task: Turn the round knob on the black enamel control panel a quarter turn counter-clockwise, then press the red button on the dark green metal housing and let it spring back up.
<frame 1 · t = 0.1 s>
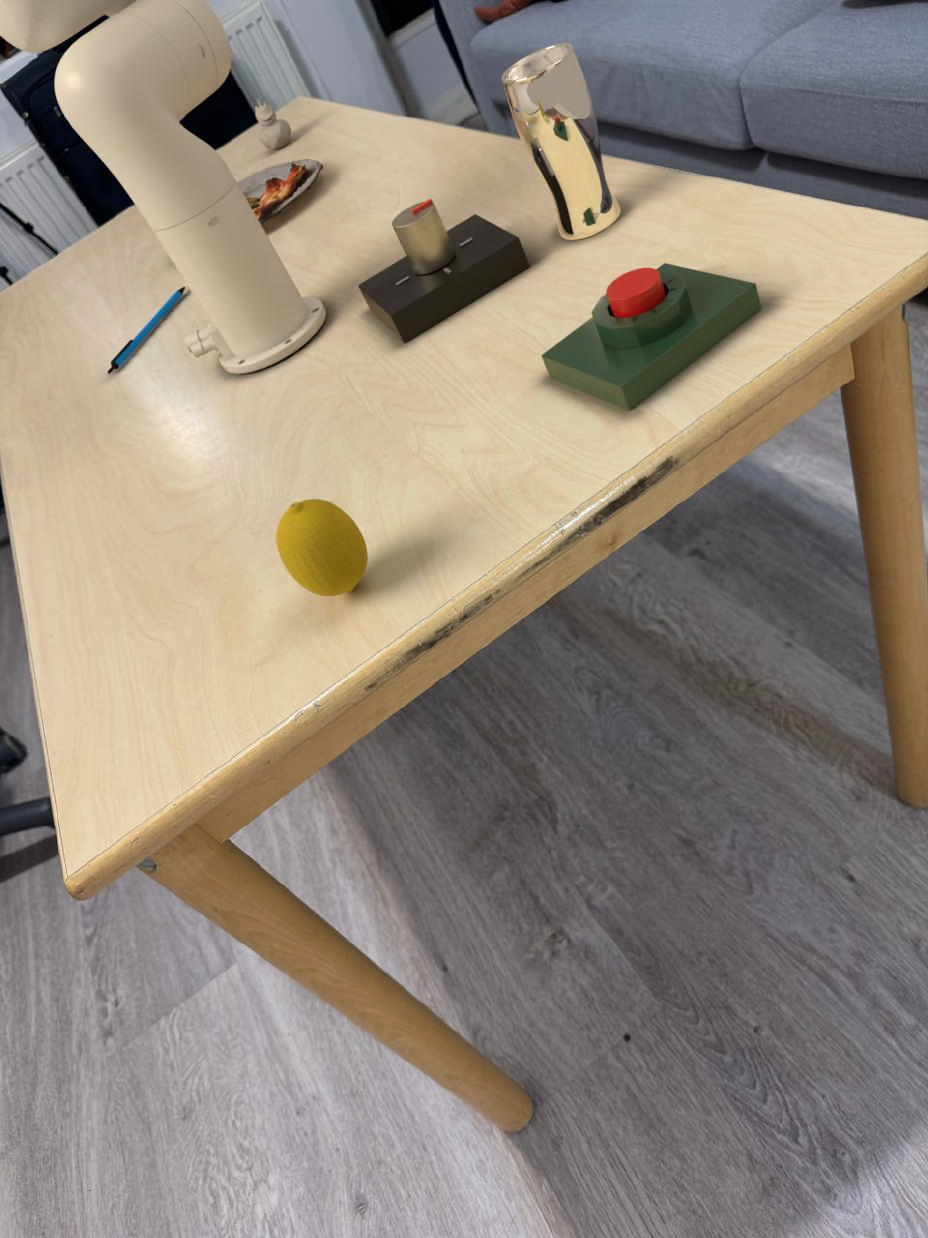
lemon: (352, 592, 68), on the table
knob: (423, 236, 93), point 6 cm above the table, hinge at 0.0°
button: (635, 293, 72), point 4 cm above the table, slide at 0.1 cm
panel: (447, 289, 97), on the table
pen: (151, 331, 124), on the table
beer glass: (591, 224, 94), on the table
switchbox: (652, 345, 74), on the table
food plate: (251, 218, 142), on the table
rubber duck: (281, 146, 163), on the table
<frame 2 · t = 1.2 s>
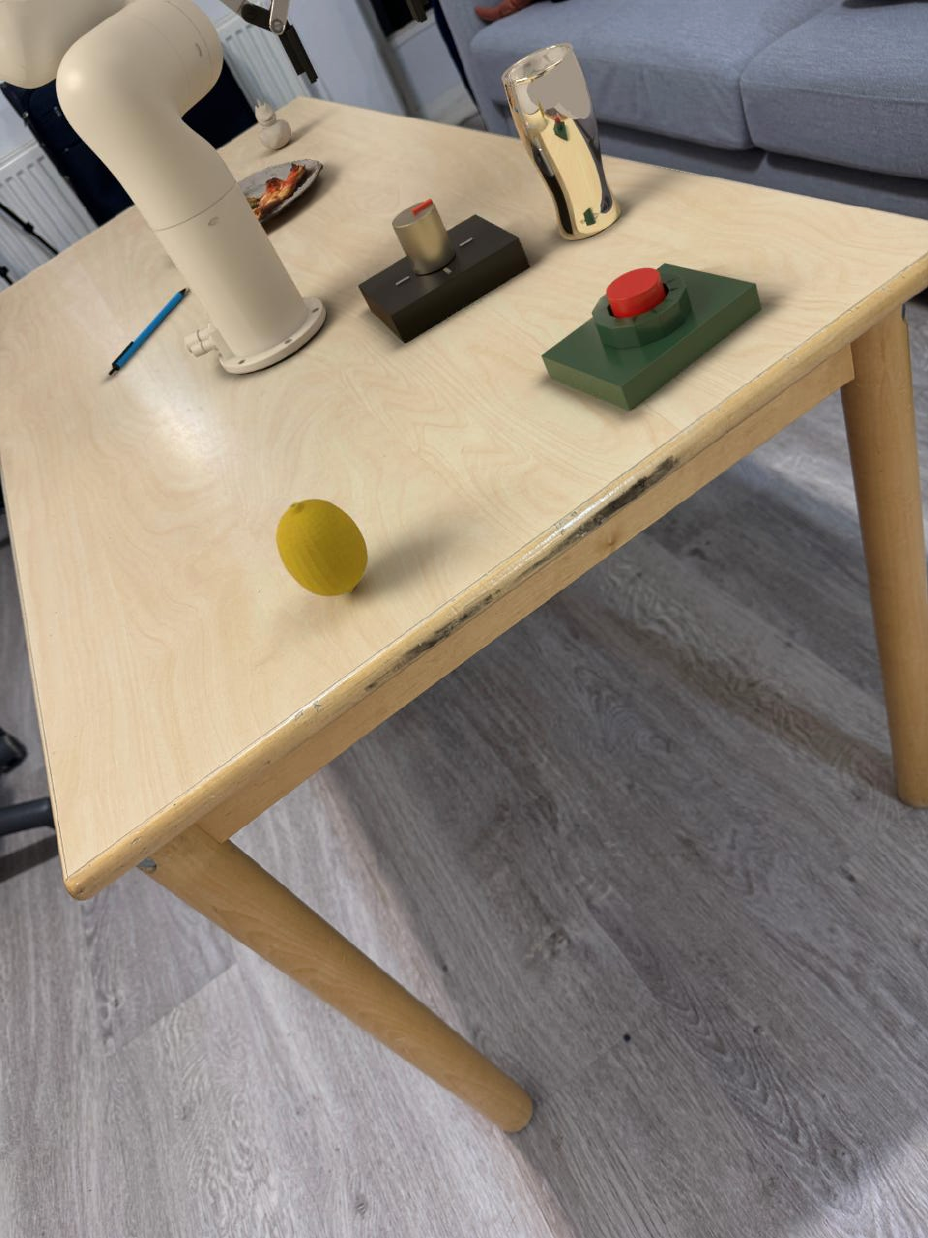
hand: (366, 49, 78), 23 cm above the table, tool pointing down, fingers open, 9 cm apart
nothing on the table moved.
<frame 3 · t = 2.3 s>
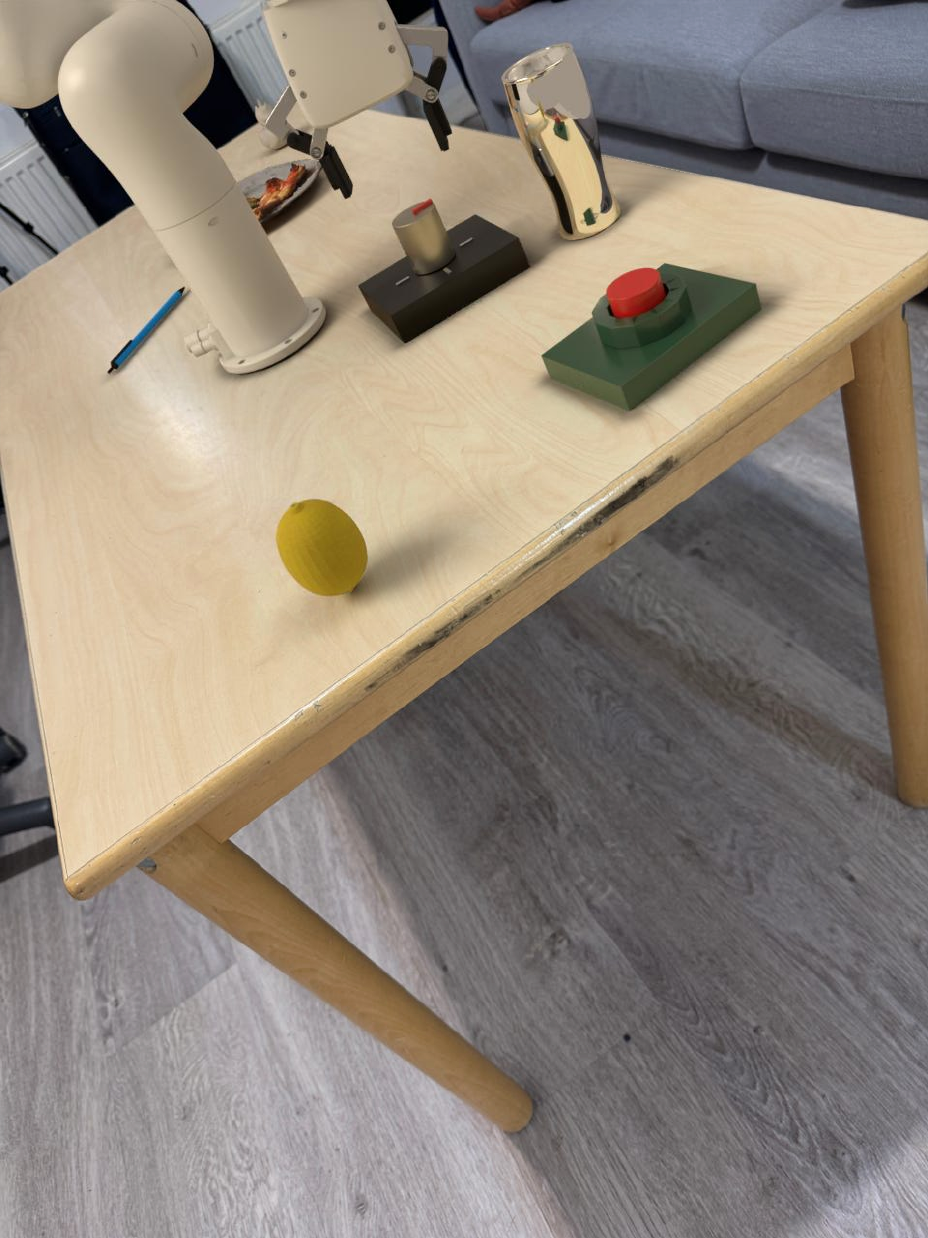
hand: (396, 169, 89), 12 cm above the table, tool pointing down, fingers open, 9 cm apart
nothing on the table moved.
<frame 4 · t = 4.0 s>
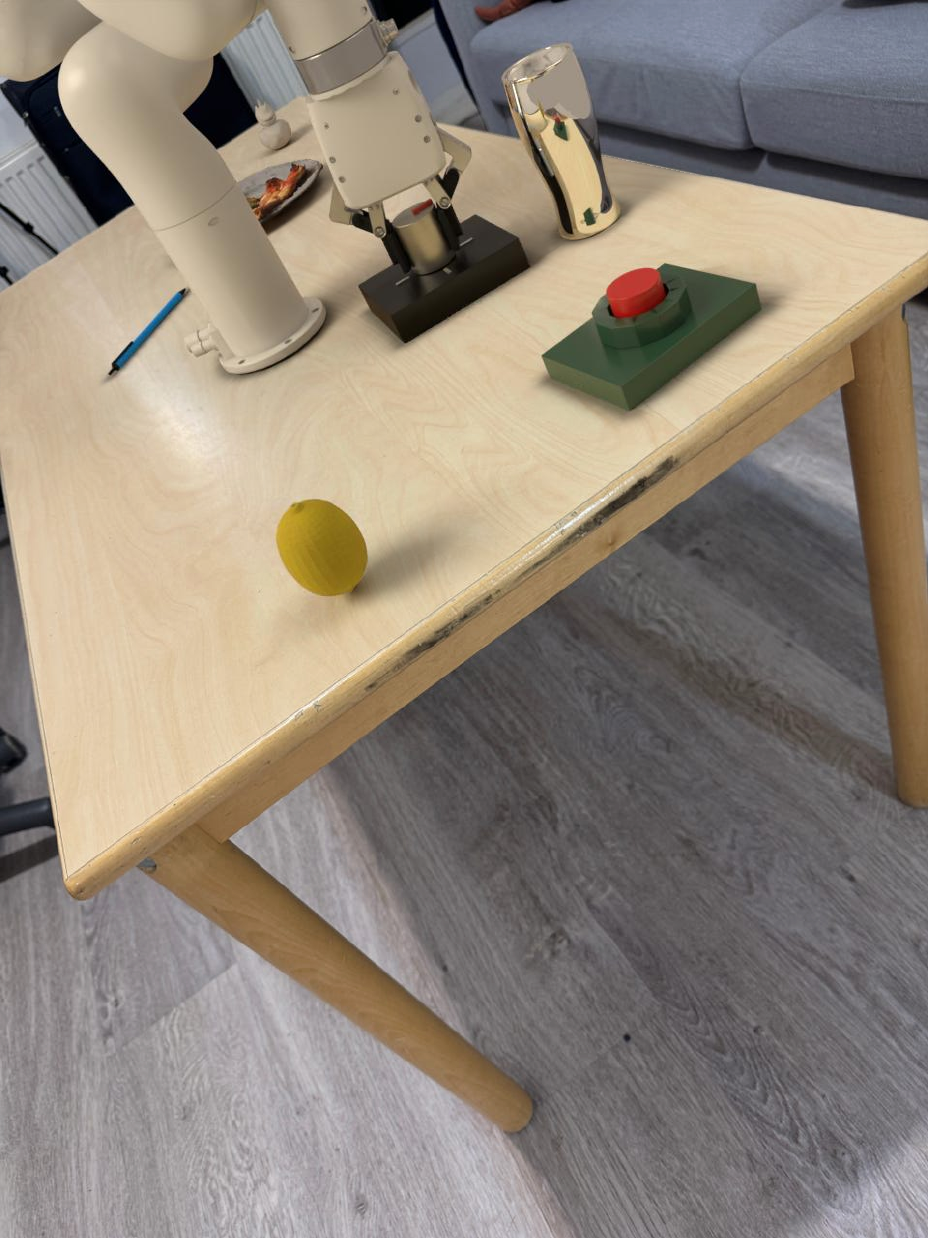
hand: (431, 254, 94), 4 cm above the table, tool pointing down, fingers closed on knob, 4 cm apart
knob: (423, 236, 93), point 6 cm above the table, hinge at 0.1°, touching gripper
everything else where it was.
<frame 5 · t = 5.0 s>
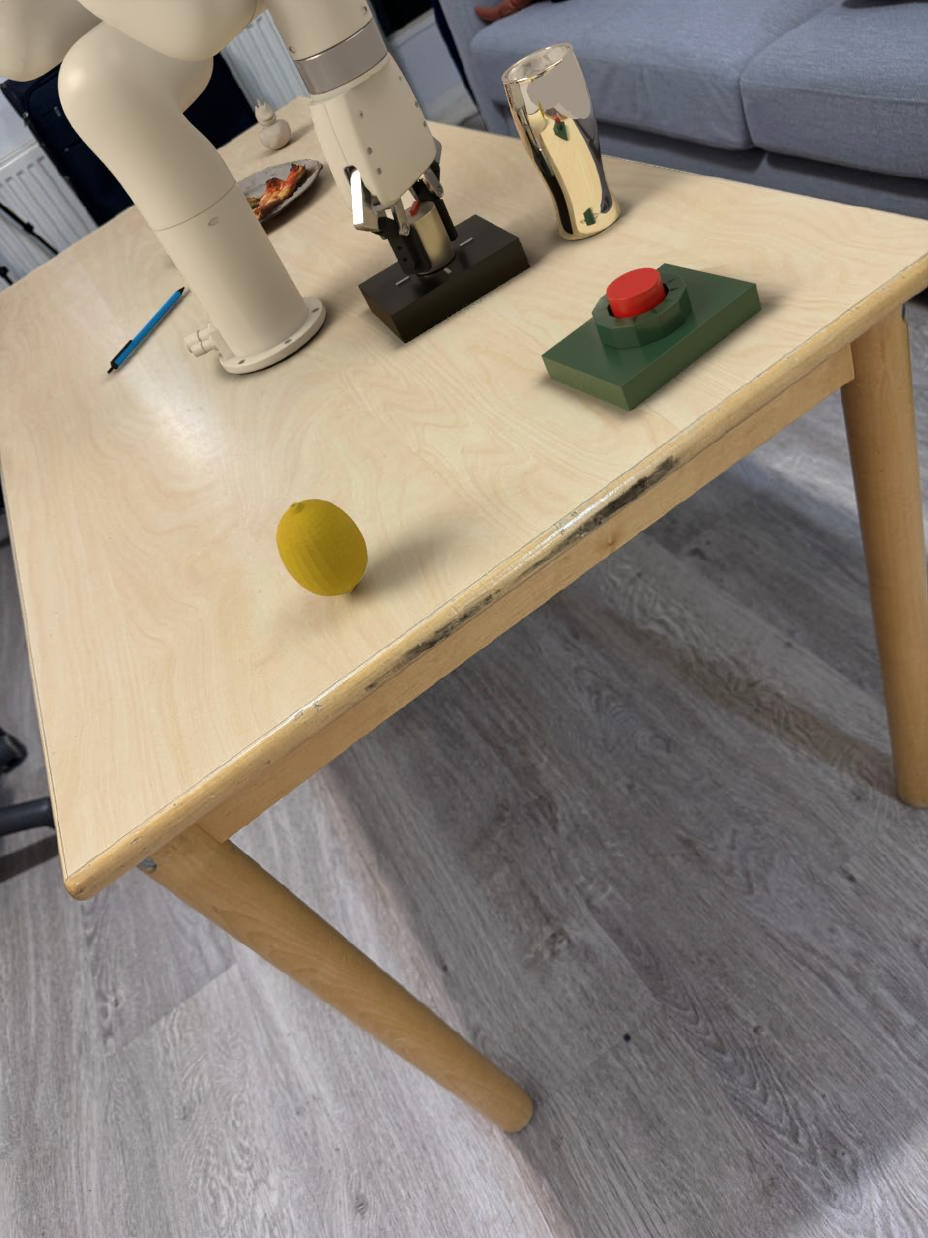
hand: (431, 254, 94), 4 cm above the table, tool pointing down, fingers closed on knob, 4 cm apart
knob: (423, 236, 93), point 6 cm above the table, hinge at 56.3°, touching gripper
everything else where it was.
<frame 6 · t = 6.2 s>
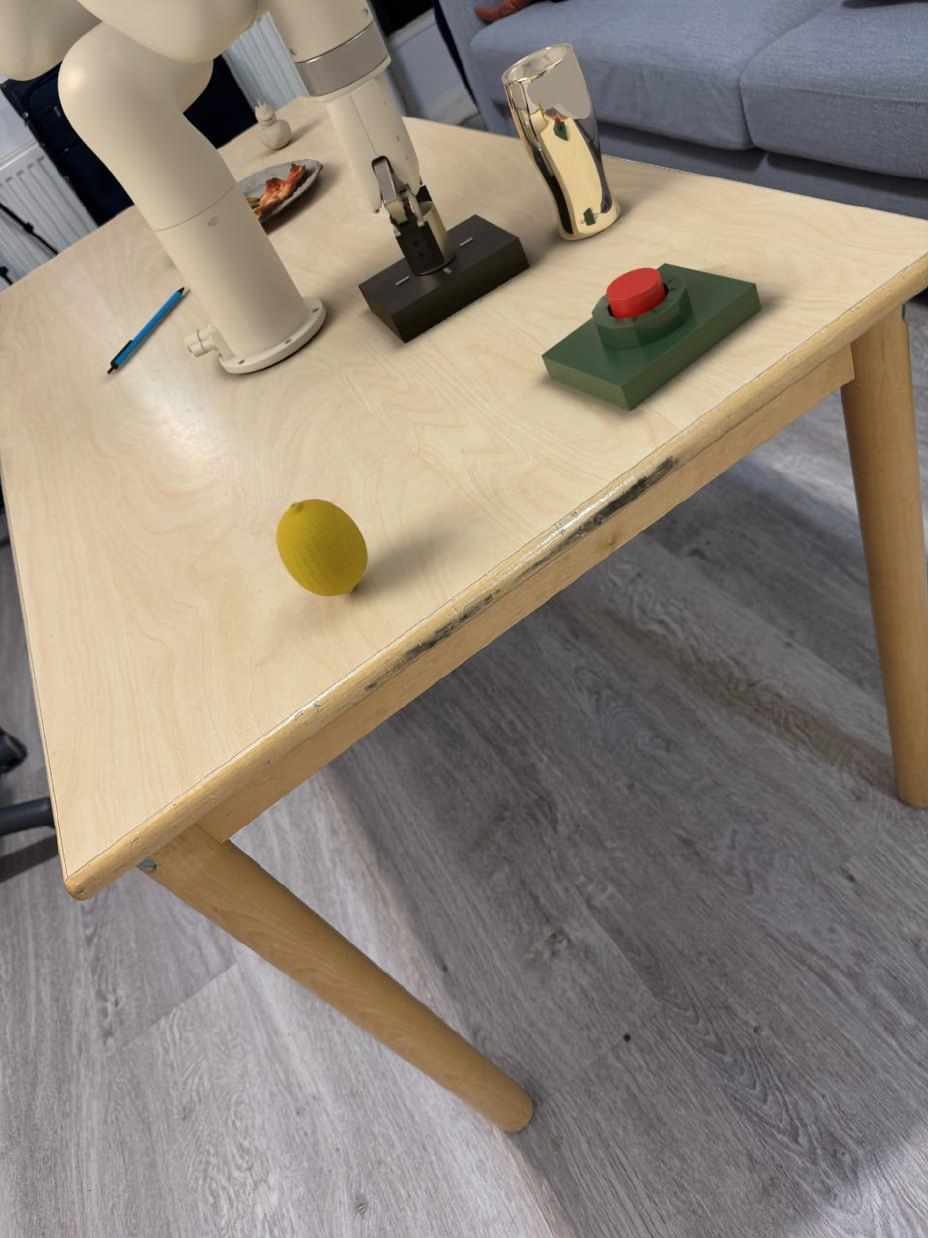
hand: (428, 248, 94), 4 cm above the table, tool pointing down, fingers open, 8 cm apart
knob: (423, 236, 93), point 6 cm above the table, hinge at 88.2°
everything else where it was.
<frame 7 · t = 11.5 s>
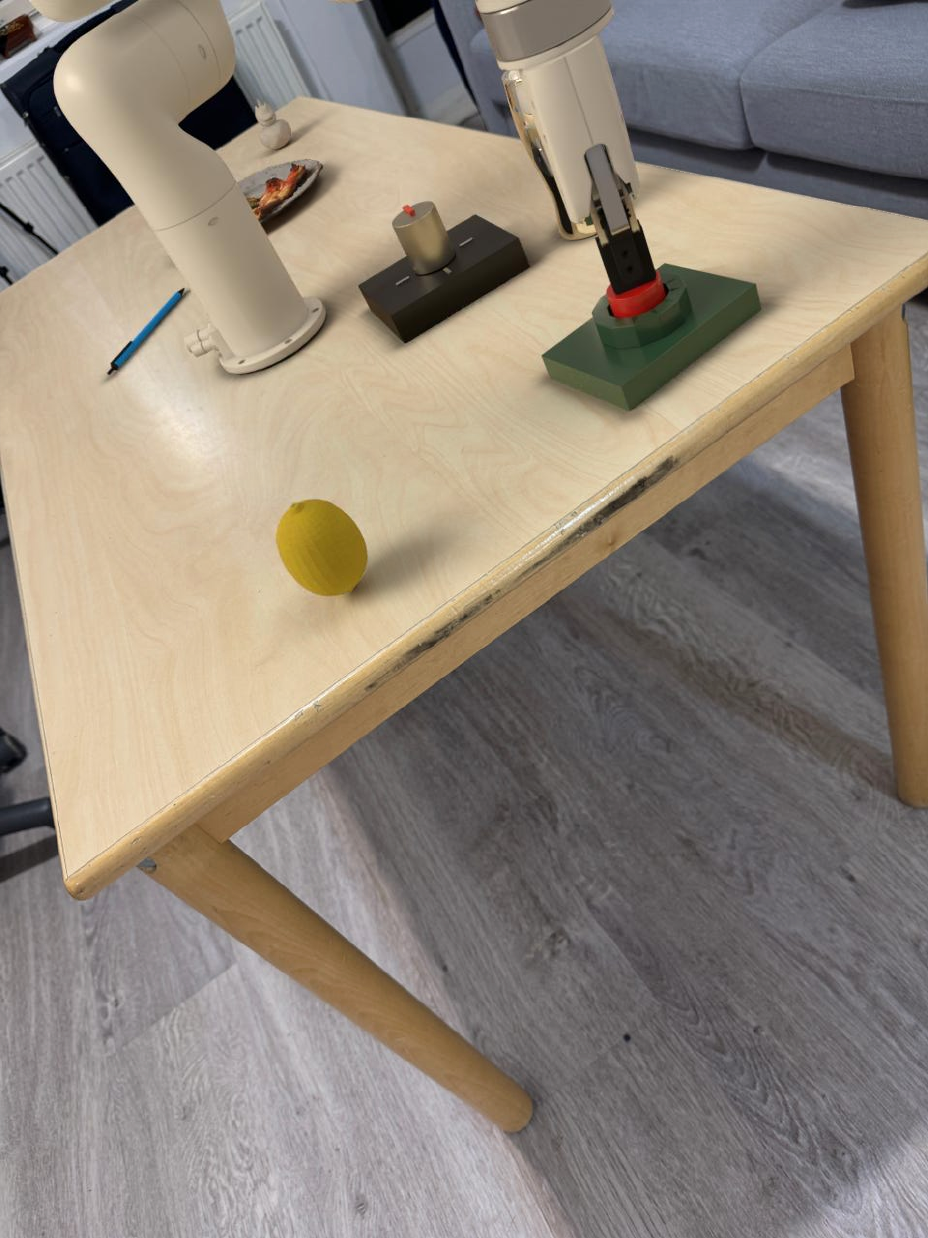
hand: (634, 282, 71), 5 cm above the table, tool pointing down, fingers closed
button: (635, 293, 72), point 4 cm above the table, slide at 0.1 cm, touching gripper
everything else where it was.
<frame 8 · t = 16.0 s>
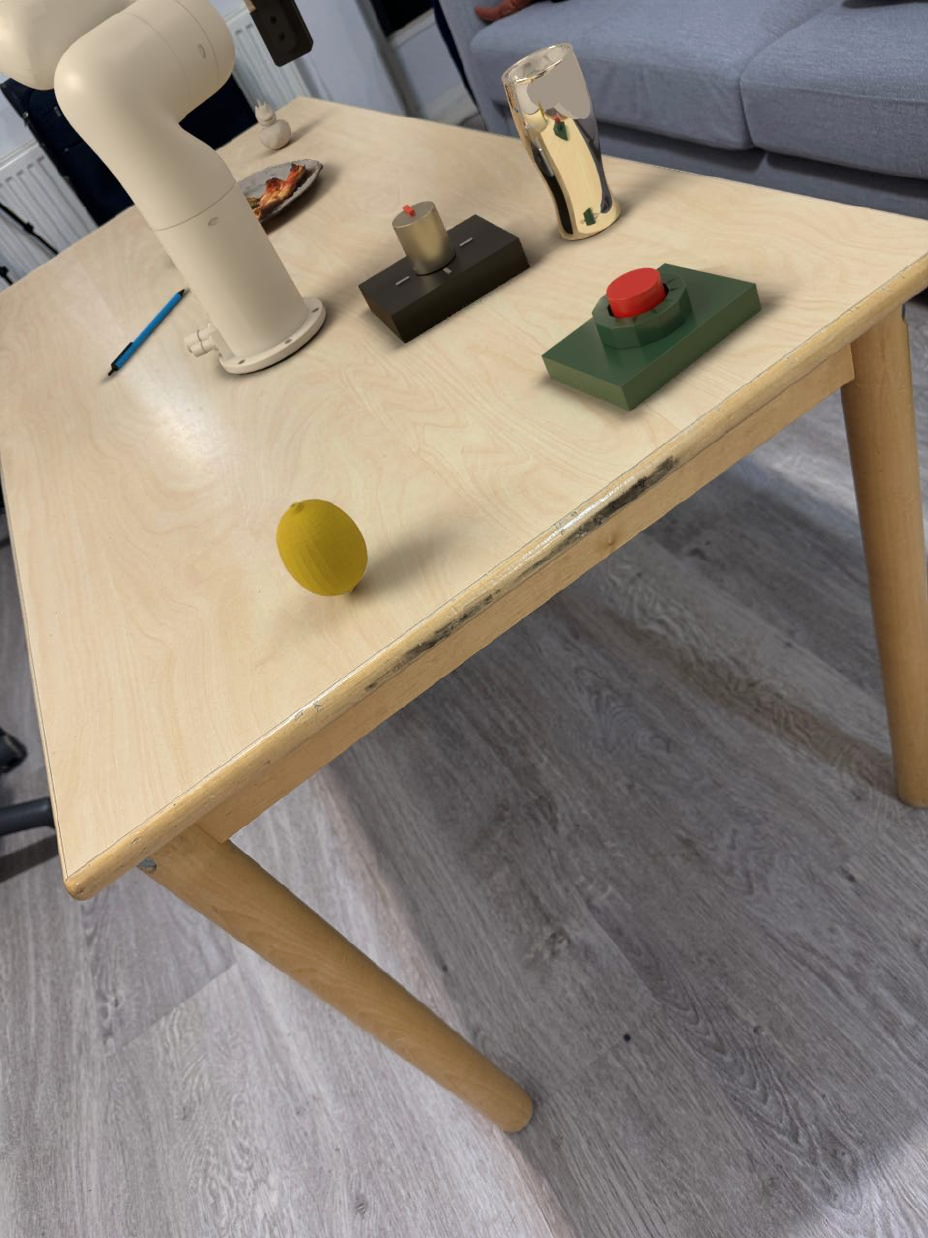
hand: (296, 55, 75), 25 cm above the table, tool pointing down, fingers closed
button: (635, 293, 72), point 4 cm above the table, slide at 0.1 cm
everything else where it was.
at the end: knob at +88° (first picture: +0°); button pushed in 1.1 cm at the most during the clip, back to where it started at the end; button slide at 0.1 cm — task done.
